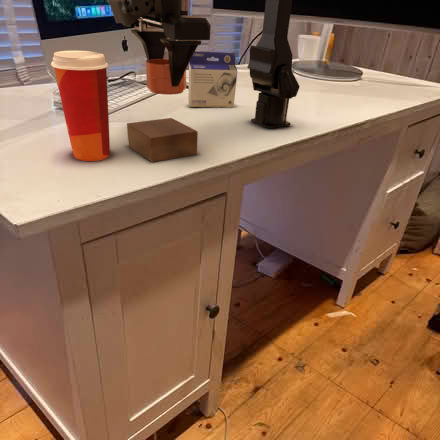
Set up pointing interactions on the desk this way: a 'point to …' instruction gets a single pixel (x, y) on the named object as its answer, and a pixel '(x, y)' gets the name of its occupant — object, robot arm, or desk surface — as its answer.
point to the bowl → (162, 77)
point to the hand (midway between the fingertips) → (164, 82)
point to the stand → (162, 139)
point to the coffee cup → (84, 102)
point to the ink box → (212, 80)
